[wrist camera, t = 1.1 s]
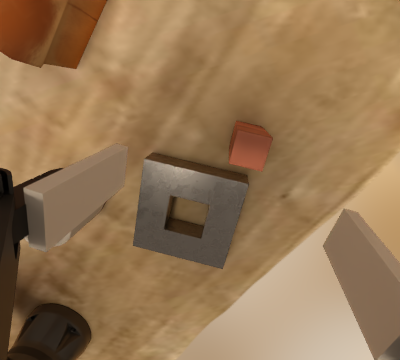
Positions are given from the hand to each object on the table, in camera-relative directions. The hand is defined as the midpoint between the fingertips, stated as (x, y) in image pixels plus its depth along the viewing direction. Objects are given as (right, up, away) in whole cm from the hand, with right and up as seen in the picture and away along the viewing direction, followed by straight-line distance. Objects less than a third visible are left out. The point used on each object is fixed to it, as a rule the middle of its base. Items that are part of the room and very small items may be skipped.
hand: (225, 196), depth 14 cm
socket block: (-3, -4, +27) cm, 28 cm away
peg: (+5, +8, +22) cm, 24 cm away
